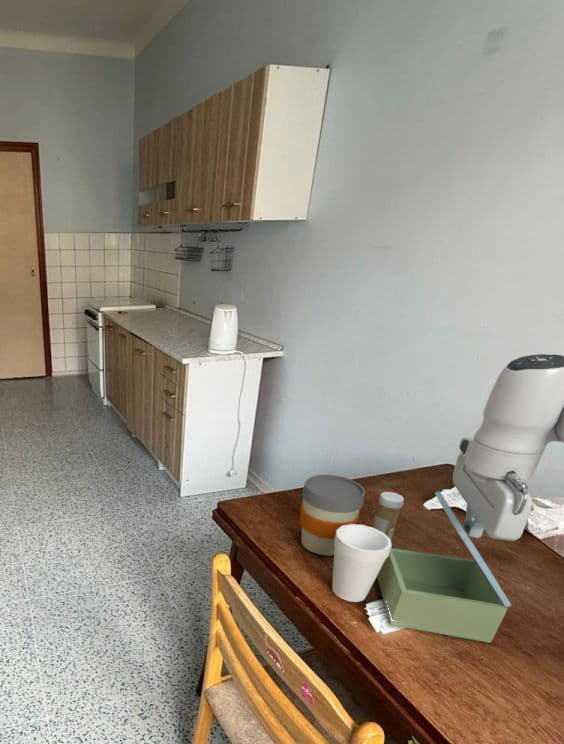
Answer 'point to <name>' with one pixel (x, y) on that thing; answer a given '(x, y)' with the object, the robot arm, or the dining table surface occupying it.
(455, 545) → the dining table surface
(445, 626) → the display box
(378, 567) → the foam cup
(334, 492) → the reusable coffee cup
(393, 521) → the sprinkles bottle
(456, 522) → the hatch
